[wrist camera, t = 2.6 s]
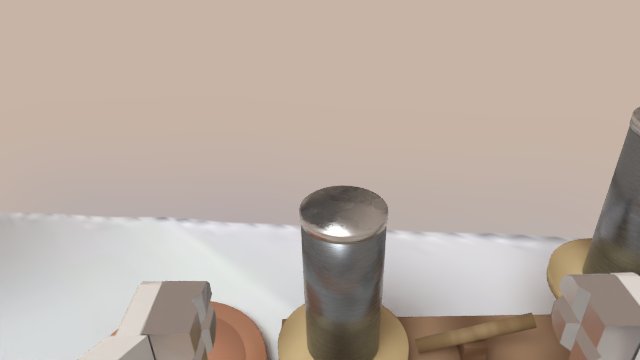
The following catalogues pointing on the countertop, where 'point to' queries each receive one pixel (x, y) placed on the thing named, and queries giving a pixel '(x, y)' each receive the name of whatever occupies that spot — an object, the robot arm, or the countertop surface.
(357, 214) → the brushed steel peg
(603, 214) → the cylinder
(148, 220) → the countertop surface
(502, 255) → the countertop surface
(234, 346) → the dish
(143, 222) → the countertop surface
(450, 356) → the balance
